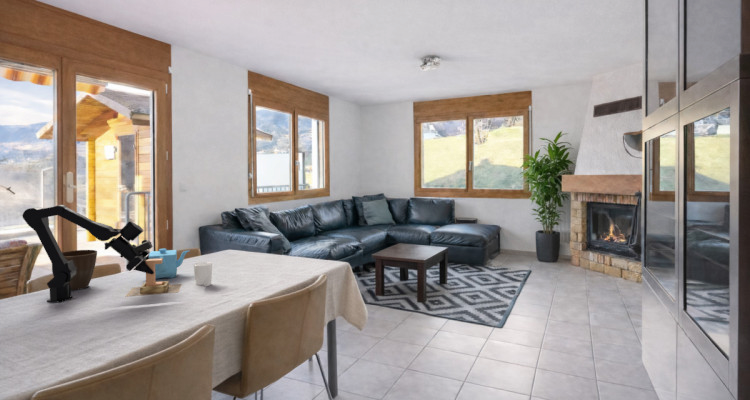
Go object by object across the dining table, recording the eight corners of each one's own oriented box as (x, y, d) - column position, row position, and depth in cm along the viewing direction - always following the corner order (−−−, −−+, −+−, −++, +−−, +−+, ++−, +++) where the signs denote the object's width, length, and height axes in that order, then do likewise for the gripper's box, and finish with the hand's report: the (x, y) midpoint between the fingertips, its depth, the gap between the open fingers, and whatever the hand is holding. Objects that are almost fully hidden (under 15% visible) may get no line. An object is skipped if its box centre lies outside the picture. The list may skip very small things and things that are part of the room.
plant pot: (106, 283, 190) (105, 250, 189) (80, 293, 175) (78, 256, 174) (77, 282, 192) (75, 249, 191) (48, 291, 177) (47, 255, 176)
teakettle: (164, 272, 213) (163, 244, 212) (192, 275, 207) (192, 247, 206) (132, 281, 196) (131, 251, 195) (162, 284, 189) (161, 253, 188)
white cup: (190, 285, 188) (190, 264, 187) (204, 282, 195) (204, 261, 194) (202, 288, 184) (201, 266, 184) (216, 284, 191) (215, 263, 190)
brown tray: (124, 298, 168) (124, 290, 167) (132, 289, 181) (132, 282, 181) (178, 294, 174) (178, 286, 174) (181, 286, 187) (181, 278, 187)
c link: (146, 288, 174) (145, 261, 174) (147, 286, 178) (147, 259, 177) (161, 287, 176) (161, 260, 176) (163, 284, 180) (162, 258, 179)
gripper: (134, 238, 165) (165, 263, 170) (144, 231, 183) (171, 254, 187) (112, 258, 163) (144, 283, 168) (124, 249, 181) (152, 272, 185)
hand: (154, 272), depth 177 cm, fingers closed on c link, 4 cm apart
